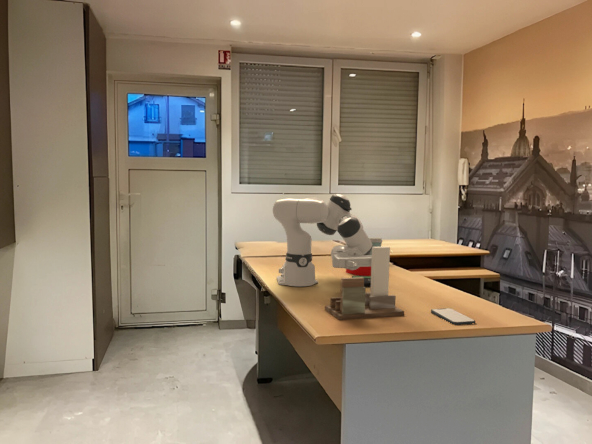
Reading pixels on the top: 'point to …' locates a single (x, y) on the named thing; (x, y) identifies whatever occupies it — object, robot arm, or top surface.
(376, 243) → the disposable coffee cup
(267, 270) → the top surface
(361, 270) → the toy clock
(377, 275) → the cream rectangular board
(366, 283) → the disk drive
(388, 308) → the rack
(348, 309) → the block
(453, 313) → the smartphone
